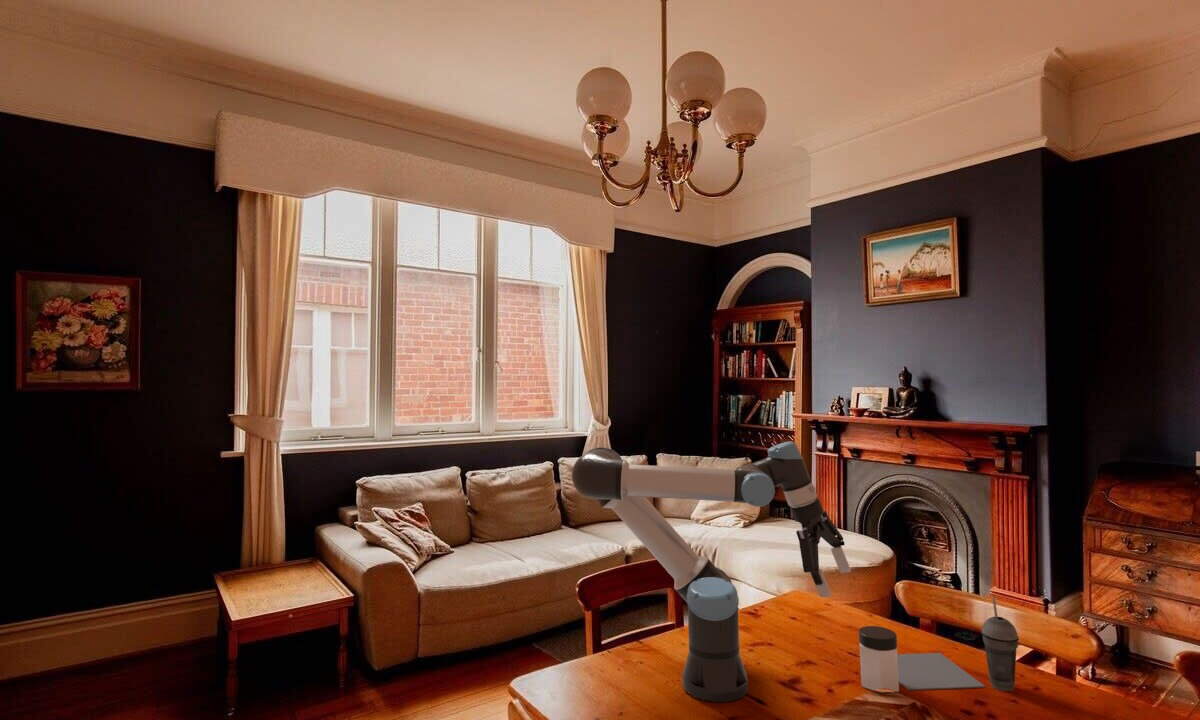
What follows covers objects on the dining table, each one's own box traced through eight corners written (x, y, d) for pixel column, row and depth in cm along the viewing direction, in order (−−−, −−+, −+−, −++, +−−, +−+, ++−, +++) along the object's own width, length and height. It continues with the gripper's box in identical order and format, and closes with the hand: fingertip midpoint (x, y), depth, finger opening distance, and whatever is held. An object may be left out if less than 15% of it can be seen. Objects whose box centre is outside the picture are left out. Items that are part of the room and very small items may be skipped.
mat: (907, 690, 142) (907, 689, 142) (870, 656, 160) (870, 655, 160) (985, 687, 143) (985, 686, 143) (939, 654, 161) (939, 652, 161)
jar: (907, 686, 144) (905, 633, 145) (890, 697, 139) (888, 642, 139) (869, 673, 151) (867, 622, 152) (852, 683, 146) (850, 631, 146)
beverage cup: (1003, 696, 138) (999, 605, 139) (975, 682, 145) (971, 594, 146) (1029, 691, 140) (1024, 601, 141) (1000, 677, 147) (996, 591, 148)
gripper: (796, 517, 145) (831, 606, 144) (835, 483, 164) (866, 561, 162) (769, 522, 150) (802, 607, 149) (809, 489, 169) (839, 564, 167)
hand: (836, 583), depth 155 cm, fingers open, 13 cm apart
